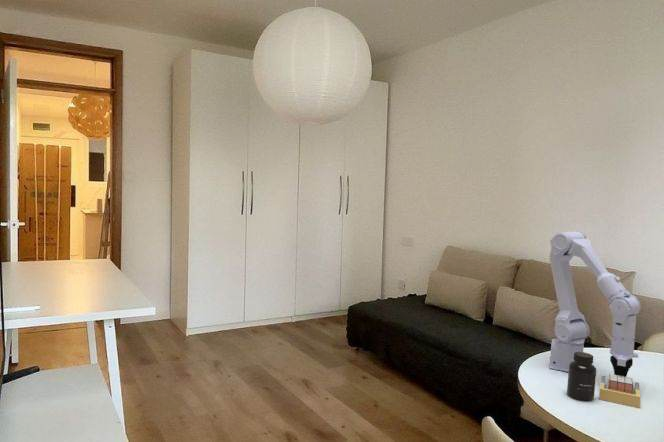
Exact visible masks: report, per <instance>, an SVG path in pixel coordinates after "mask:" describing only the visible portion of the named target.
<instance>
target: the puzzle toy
mask: <svg viewBox="0 0 664 442" xmlns="http://www.w3.org/2000/svg"><path fill="white" fill-rule="evenodd" d="M607 381H608V386H607V389H610V390H615V391H620V392H625V393H630V394H634V381H633V378H632V377H629V376H626V377H624V376H620V375H614V373H609V374H608V380H607Z"/></svg>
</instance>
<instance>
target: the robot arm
mask: <svg viewBox="0 0 664 442" xmlns="http://www.w3.org/2000/svg"><path fill="white" fill-rule="evenodd" d="M549 242H550V246H551V247H550V248H551V249H550V254H549V262H550V268H551V272H552V278H553V284H554V288H555V289H554V290H555V294H556V295H555V296H556V300H557V305H558V309H559V311H558V313H557V315H556V317H555V319H554V322H555V326H554V331H553V332H554V335H555V338H552V340H551V346H550V356H549V369H551V370H557V371H561V372H567V373H568V372H569V364H570V363H571V362H573V361H574V360H573V357H574V353H575V352H584V348H585V346H584V344H585V341H586V339H587V337H588V336H589V335H590V326H589V325H588V323H587V321H586V319H585V315H584V314H583V313H582V312H581V311H580V310H579V307H578V303H577V298H576V297H577V296H576V291H575V288H574V282H573V277H572V276H573V275H572V271H571V266H570V262H571V259H573V258H574V257H578V258H580V259H581V260H582V261H583V263H584V264H585V265H586V266H587V268H589V270H590V271H591V272H592V274H593V275H594V276H595V277H596V278H597V279H596V285H597V287H598V288H599V289H600V291H601V292H602V293H603V295H604V297H605V298H606V299H607V301H608V302H609V303H610V304H609V305H608V306H609V307H608V308H609V311H610V312H611V314H612V329H611V341H610V342H611V344H610V349H609V354H610V356H609V358H610V359H609V361H610V364H611V365H612V369H613V372H614V373H613V374H614V375H620V376H624V377H628V376H627V375H628V372H629V370H630V369H631V368H632V366H633V363H634V360H633V359H634V358H637V359H638V358H639V354H638V353H636V352H634V351H635V340H636V323H637V315H638V314H639V313H640V312H641V311H642V304H641V301H640V299H639V297H637V296H636V295H633V294H631V293H630V291H628V290H627V289H626V288H625V286H624V285H623V283H622V282H621V278H620V277H619V276H618V275H617V276H616V274H614V273H611V272H609V271H608V270H607V269H606V268H607V267H605V265H604V264H603V262H602V260H601V259H600V258H599V256H598V254H597V253H596V252H595V250H594V249H593V246H592V241H591V240H590V239H589V238H588V237H587V235H586V234H585V233H584V232H583V231H580V230H575V231H558V232H556V233H555V234H554V235H553V236H552V238H551V239H550V240H549Z"/></svg>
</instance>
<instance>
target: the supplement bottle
mask: <svg viewBox="0 0 664 442" xmlns="http://www.w3.org/2000/svg"><path fill="white" fill-rule="evenodd" d="M573 360H574V361H573V362H571V363H570V364H569V372H567V373H568V375H567V385H566V393H567V395H568V396H569V397H570V398H572V399H574V400H576V401H581V402H590V401H592V400H593V401H594V398H595V392H596V391H595V390H596V378H597V368H596V367H595V365H593V364H594V356H593V354H591V353H588V352H584V351H583V352H575V353H574V357H573Z"/></svg>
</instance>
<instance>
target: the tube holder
mask: <svg viewBox="0 0 664 442" xmlns="http://www.w3.org/2000/svg"><path fill="white" fill-rule="evenodd" d="M640 389H641V388H640V382H637V381H635V382H634V389H633V392H634V393H633V394H630V393H625V392H620V391H615V390H610V389H608V388H606V375H601V377H600V386H599V394H598V396H599V397H598V399H599V400H600V399H601V401H605V400H606V402H609V401H610V402H611V403H614V404H618V405H625V406H628V407H633V408H637V409H640V407H641V391H640Z"/></svg>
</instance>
